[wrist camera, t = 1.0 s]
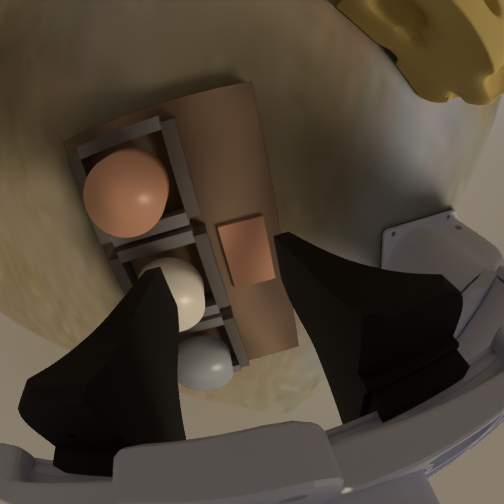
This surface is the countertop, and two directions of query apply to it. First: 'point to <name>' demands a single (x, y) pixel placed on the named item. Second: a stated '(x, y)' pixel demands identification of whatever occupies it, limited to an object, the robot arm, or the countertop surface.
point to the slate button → (204, 363)
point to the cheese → (439, 44)
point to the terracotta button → (126, 192)
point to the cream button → (183, 289)
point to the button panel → (205, 213)
